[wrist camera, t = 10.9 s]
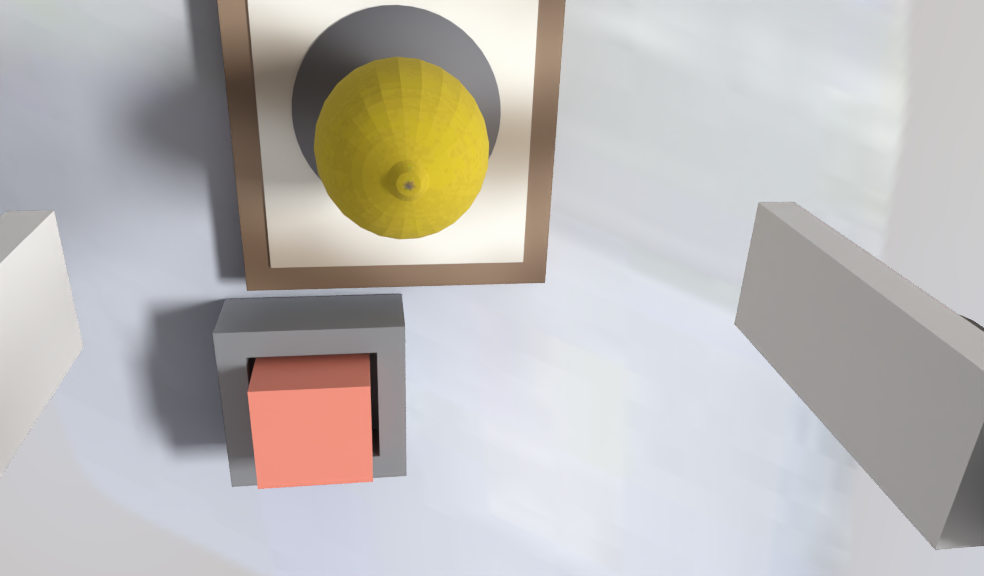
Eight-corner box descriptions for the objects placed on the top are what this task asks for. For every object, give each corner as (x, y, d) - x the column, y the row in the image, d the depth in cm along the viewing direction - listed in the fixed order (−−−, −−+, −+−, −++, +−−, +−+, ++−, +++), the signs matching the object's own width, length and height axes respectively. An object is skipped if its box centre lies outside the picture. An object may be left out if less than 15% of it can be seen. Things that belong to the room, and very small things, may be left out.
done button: (256, 357, 31) (247, 392, 28) (369, 353, 31) (369, 386, 29) (265, 449, 32) (258, 488, 30) (372, 443, 33) (372, 481, 31)
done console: (225, 298, 32) (212, 333, 29) (401, 294, 33) (404, 326, 30) (241, 443, 35) (231, 486, 32) (403, 434, 36) (406, 475, 33)
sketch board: (213, -106, 26) (205, -107, 25) (564, -90, 28) (573, -90, 27) (251, 278, 32) (246, 292, 31) (539, 271, 34) (545, 284, 32)
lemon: (314, 181, 29) (298, 266, 22) (328, 28, 27) (316, 66, 20) (459, 200, 30) (488, 286, 23) (484, 54, 28) (525, 100, 21)
